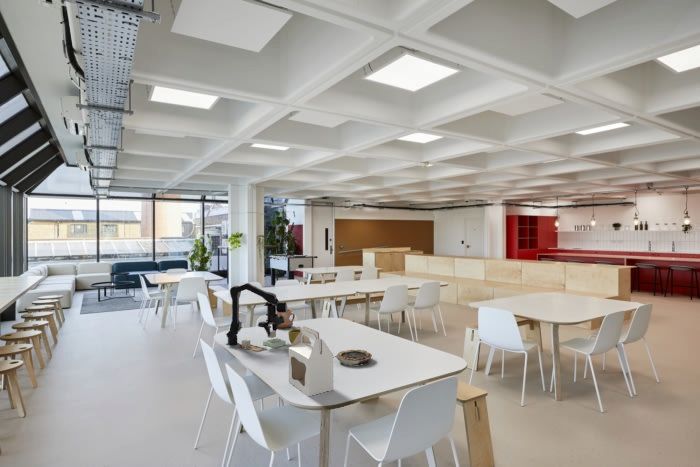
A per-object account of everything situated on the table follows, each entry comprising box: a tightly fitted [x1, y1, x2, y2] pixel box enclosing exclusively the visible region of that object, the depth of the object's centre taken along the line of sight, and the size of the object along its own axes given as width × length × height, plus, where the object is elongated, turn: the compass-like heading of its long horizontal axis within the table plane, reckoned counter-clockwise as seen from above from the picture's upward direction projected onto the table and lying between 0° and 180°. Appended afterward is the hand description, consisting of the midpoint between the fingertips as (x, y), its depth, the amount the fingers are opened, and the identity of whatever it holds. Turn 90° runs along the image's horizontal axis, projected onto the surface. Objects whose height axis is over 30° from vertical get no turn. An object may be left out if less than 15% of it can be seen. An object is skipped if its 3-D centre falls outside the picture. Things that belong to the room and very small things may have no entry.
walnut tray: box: [237, 343, 268, 353], centre depth 256 cm, size 20×8×1 cm, turn 53°
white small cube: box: [267, 329, 277, 339], centre depth 266 cm, size 4×4×4 cm
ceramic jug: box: [276, 308, 295, 329], centre depth 317 cm, size 18×14×14 cm
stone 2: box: [272, 337, 282, 343], centre depth 262 cm, size 4×4×4 cm
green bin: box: [262, 337, 286, 349], centre depth 264 cm, size 12×10×3 cm
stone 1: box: [241, 338, 251, 348], centre depth 260 cm, size 4×4×4 cm
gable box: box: [288, 325, 334, 397], centre depth 191 cm, size 22×13×28 cm, turn 34°
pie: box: [333, 349, 373, 367], centre depth 230 cm, size 28×27×5 cm
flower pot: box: [288, 328, 301, 345], centre depth 268 cm, size 9×9×9 cm
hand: (271, 335), depth 266 cm, fingers closed on white small cube, 4 cm apart
